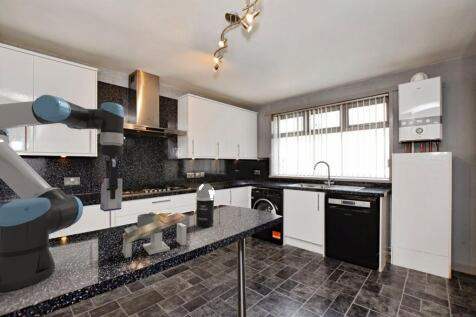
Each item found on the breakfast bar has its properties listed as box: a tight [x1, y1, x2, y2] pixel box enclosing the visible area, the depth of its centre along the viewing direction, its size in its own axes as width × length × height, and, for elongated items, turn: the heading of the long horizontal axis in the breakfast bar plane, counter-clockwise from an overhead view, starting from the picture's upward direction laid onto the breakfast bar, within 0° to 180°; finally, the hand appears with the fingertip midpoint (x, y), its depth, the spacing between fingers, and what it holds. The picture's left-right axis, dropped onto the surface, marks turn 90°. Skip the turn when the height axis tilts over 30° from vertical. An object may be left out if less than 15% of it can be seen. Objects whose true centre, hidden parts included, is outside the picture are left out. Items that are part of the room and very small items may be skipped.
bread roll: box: [149, 211, 169, 221], centre depth 125 cm, size 13×10×8 cm
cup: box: [136, 212, 157, 240], centre depth 107 cm, size 8×8×10 cm
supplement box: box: [99, 178, 123, 212], centre depth 82 cm, size 6×6×12 cm
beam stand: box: [122, 222, 187, 259], centre depth 92 cm, size 24×10×8 cm, turn 127°
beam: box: [122, 212, 187, 244], centre depth 92 cm, size 24×9×4 cm, turn 127°
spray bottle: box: [195, 181, 215, 228], centre depth 127 cm, size 10×10×25 cm
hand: (111, 206), depth 82 cm, fingers closed on supplement box, 6 cm apart
